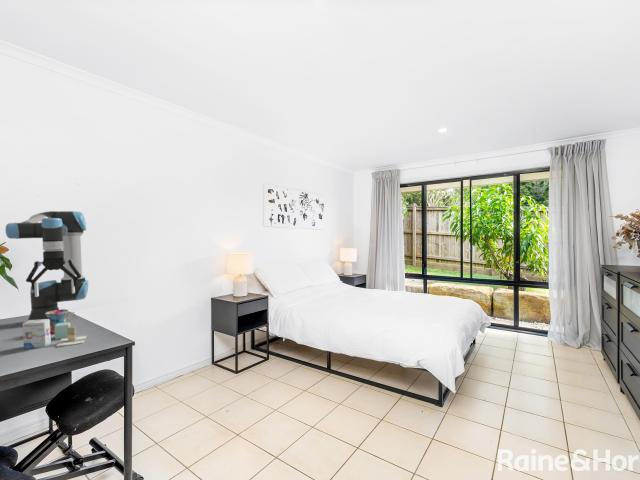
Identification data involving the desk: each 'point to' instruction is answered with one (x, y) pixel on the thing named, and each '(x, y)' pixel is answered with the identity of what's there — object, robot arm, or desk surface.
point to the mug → (57, 318)
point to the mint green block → (61, 330)
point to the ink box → (36, 333)
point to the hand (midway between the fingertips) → (55, 294)
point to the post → (71, 338)
